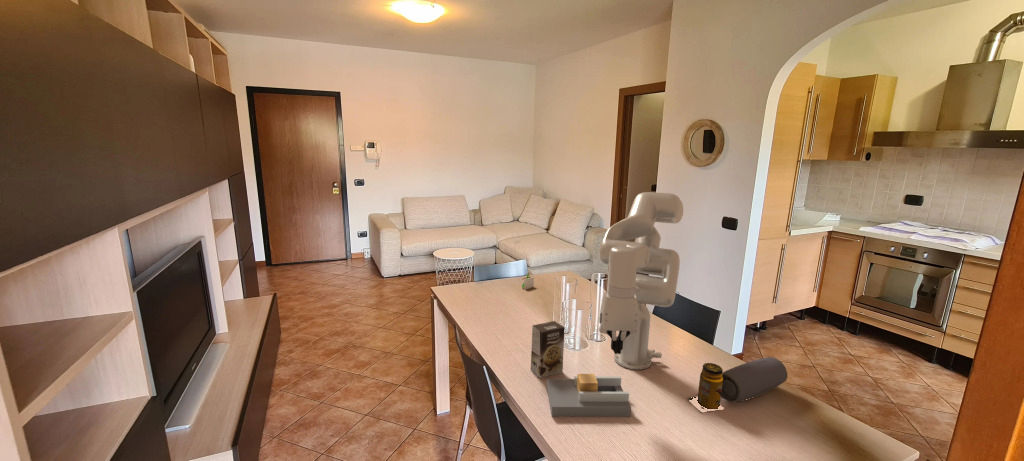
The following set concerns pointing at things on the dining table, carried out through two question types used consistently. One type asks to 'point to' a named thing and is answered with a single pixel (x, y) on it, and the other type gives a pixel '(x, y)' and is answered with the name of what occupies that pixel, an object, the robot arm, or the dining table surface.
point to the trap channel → (588, 398)
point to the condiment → (710, 386)
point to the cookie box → (547, 349)
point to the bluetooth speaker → (752, 379)
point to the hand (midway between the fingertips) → (616, 351)
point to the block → (587, 383)
